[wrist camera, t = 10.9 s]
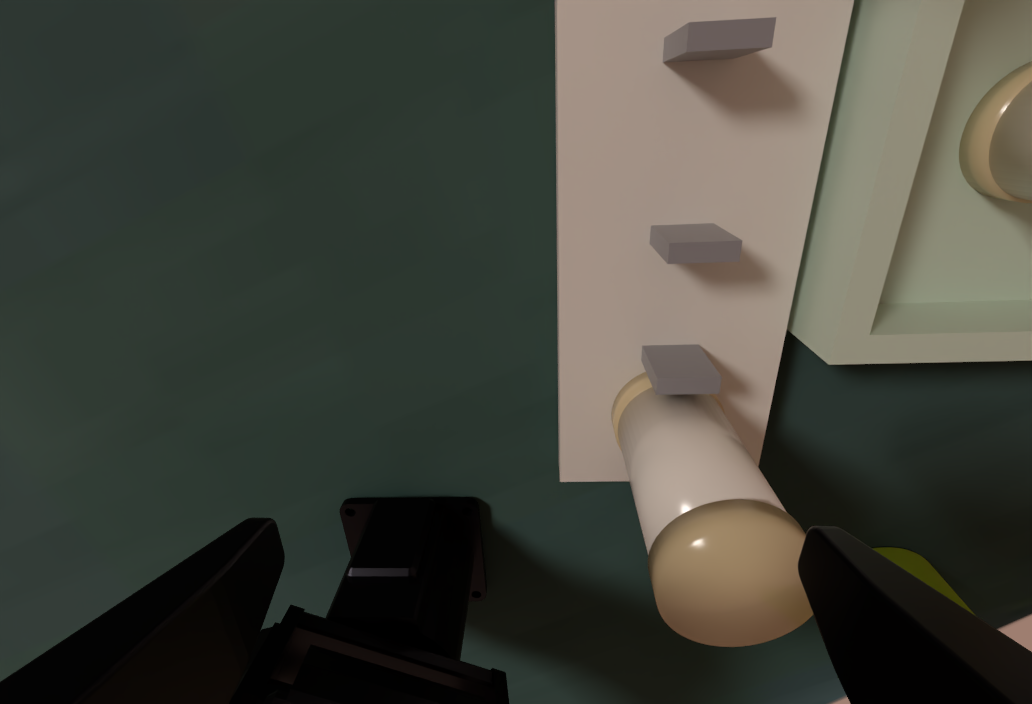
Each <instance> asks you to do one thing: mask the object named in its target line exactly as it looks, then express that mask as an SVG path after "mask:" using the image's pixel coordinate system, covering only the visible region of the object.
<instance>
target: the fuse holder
mask: <svg viewBox="0 0 1032 704" xmlns="http://www.w3.org/2000/svg"><path fill="white" fill-rule="evenodd" d="M853 3H854V0H555V77H556V197H557V317H558V437H559V472H560V482H595V481H629V477H628V474H627V470H626V466H625V462H624V458H623V454H622V451H621V450H620V448H619V446H618V444H617V441H616V437H615V433H614V429H613V425H612V420H611V412H612V407H613V403H614V401H615V398H616V396H617V395H618V393H619V391H620V390H621V389H622V388H623V387H624V386H625V385H626V384H627V383H628V382H629V381H630V380H632V379H633V378H634V377H636V376H638V375H640V374H642V373H644V372H646V373H647V375H648V378H649V380H650V382H651V385H652V387H653V389H654V392H655V394H656V395H677V394H715V395H716V396H717V398H718V399H719V401H720V402H721V404H722V406H723V409H724V412H725V416H726V417H727V419H728V420H729V422H730V424H731V425H732V427H733V428H734V430H735V431H736V433H737V435H738V436H739V438H740V439H741V441H742V442H743V444H744V446H745V447H746V449H747V450H748V452H749V453H750V455H751V457H752V458H753V460H754V461H755V463H756V465H757V466H759V461H760V456H761V451H762V446H763V441H764V437H765V432H766V427H767V422H768V417H769V412H770V407H771V403H772V398H773V393H774V388H775V383H776V378H777V373H778V368H779V364H780V359H781V354H782V349H783V344H784V339H785V334H786V330H787V325H788V320H789V315H790V310H791V305H792V300H793V295H794V291H795V286H796V281H797V276H798V271H799V266H800V261H801V257H802V252H803V247H804V242H805V237H806V232H807V227H808V222H809V218H810V213H811V208H812V203H813V198H814V193H815V188H816V184H817V179H818V174H819V169H820V164H821V159H822V154H823V149H824V145H825V140H826V135H827V130H828V125H829V120H830V115H831V110H832V106H833V101H834V96H835V91H836V86H837V81H838V76H839V72H840V67H841V62H842V57H843V52H844V47H845V42H846V37H847V33H848V28H849V23H850V18H851V13H852V8H853Z"/></svg>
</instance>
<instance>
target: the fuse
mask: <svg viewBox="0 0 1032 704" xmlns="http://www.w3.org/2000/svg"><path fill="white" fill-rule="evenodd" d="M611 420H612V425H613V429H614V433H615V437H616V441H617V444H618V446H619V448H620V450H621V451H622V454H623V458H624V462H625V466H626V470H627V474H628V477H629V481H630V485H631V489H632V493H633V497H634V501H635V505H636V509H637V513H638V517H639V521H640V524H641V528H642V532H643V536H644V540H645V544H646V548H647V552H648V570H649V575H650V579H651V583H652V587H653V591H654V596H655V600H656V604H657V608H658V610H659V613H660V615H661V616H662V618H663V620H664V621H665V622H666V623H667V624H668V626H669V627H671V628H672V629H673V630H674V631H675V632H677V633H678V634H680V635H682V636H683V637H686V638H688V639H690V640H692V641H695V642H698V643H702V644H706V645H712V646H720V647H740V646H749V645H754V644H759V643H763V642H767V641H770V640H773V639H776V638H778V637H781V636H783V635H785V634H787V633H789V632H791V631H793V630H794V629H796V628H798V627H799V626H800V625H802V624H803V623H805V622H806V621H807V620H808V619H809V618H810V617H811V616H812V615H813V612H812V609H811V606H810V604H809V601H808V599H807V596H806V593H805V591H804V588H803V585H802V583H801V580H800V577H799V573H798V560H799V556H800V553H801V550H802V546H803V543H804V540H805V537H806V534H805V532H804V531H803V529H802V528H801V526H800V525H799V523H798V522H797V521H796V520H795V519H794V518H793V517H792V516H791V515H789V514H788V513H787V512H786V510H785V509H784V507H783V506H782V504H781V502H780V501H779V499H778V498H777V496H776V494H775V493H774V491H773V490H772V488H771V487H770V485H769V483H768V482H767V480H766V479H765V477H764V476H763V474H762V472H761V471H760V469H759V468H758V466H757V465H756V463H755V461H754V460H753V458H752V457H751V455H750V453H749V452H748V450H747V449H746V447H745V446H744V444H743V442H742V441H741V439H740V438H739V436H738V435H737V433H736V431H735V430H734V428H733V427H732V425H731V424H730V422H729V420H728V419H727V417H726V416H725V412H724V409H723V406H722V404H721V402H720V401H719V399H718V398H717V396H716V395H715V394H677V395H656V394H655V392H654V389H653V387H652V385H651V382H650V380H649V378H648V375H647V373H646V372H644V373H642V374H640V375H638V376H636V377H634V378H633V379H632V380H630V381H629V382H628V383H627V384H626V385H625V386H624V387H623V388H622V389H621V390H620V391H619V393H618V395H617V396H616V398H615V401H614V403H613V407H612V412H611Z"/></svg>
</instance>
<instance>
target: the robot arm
mask: <svg viewBox="0 0 1032 704" xmlns="http://www.w3.org/2000/svg"><path fill="white" fill-rule="evenodd" d="M466 507H467V508H470V510H467V509H465V508H466ZM349 508H351V509H353V510H350V509H349ZM340 516H341V519H342V523H343V527H344V531H345V535H346V539H347V543H348V547H349V551H350V555H351V559H350V561H349V564H348V566H347V568H346V571H345V573H344V576H343V578H342V580H341V583H340V585H339V587H338V590H337V592H336V594H335V597H334V599H333V602H332V604H331V606H330V609H329V611H328V613H327V616H326V618H323V617H319V616H316V615H313V614H310V613H307V612H304V610H305V609H303V608H300V607H297V606H294V605H290V607H289V609H288V610H287V612H286V614H285V616H284V618H283V619H282V621H281V623H280V624H279V623H276V622H275V624H274V625H273V627H270V628H266V629H262V630H261V628H262V625H263V622H264V619H265V617H266V614H267V611H268V608H269V605H270V603H271V600H272V597H273V594H274V592H275V589H276V586H277V583H278V580H279V578H280V575H281V572H282V569H283V566H284V559H285V556H284V550H283V546H282V542H281V539H280V535H279V531H278V527H277V524H276V522H275V521H274V520H273V519H271V518H248V519H246V520H244V521H243V522H241V523H240V524H238V525H237V526H235V527H234V528H232V529H231V530H229V531H227V532H226V533H224V534H223V535H221V536H220V537H218V538H217V539H215V540H214V541H212V542H211V543H209V544H208V545H206V546H205V547H203V548H202V549H200V550H199V551H197V552H196V553H194V554H193V555H191V556H190V557H188V558H187V559H185V560H184V561H182V562H181V563H179V564H178V565H176V566H175V567H173V568H172V569H170V570H169V571H167V572H166V573H164V574H163V575H161V576H160V577H158V578H157V579H155V580H153V581H152V582H150V583H149V584H147V585H146V586H144V587H143V588H141V589H140V590H138V591H137V592H135V593H134V594H132V595H131V596H129V597H128V598H126V599H125V600H123V601H122V602H120V603H119V604H117V605H116V606H114V607H113V608H111V609H110V610H108V611H107V612H105V613H104V614H102V615H101V616H99V617H98V618H96V619H95V620H93V621H92V622H90V623H89V624H87V625H86V626H84V627H83V628H81V629H79V630H78V631H76V632H75V633H73V634H72V635H70V636H69V637H67V638H66V639H64V640H63V641H61V642H60V643H58V644H57V645H55V646H54V647H52V648H51V649H49V650H48V651H46V652H45V653H43V654H42V655H40V656H39V657H37V658H36V659H34V660H33V661H31V662H30V663H28V664H27V665H25V666H24V667H22V668H20V669H19V670H17V671H16V672H14V673H13V674H11V675H10V676H8V677H7V678H5V679H4V680H2V681H1V682H0V704H509V698H508V689H507V680H506V673H505V672H503V671H500V670H497V669H494V668H492V669H491V670H488V669H485V668H482V667H479V666H475V665H472V664H469V663H466V662H463V661H460V658H461V651H462V644H463V637H464V630H465V623H466V616H467V608H468V601H482V600H484V599H485V597H486V592H487V584H486V573H485V563H484V553H483V543H482V533H481V522H480V512H479V505H478V502H477V501H476V500H475V499H473V498H469V497H441V498H349V499H346V500H345V501H344V502H343V504H342V506H341V508H340ZM798 573H799V577H800V580H801V583H802V585H803V588H804V591H805V593H806V596H807V599H808V601H809V604H810V606H811V609H812V612H813V614H814V617H815V620H816V622H817V625H818V628H819V630H820V633H821V636H822V638H823V641H824V643H825V646H826V649H827V651H828V654H829V657H830V659H831V662H832V664H833V666H834V669H835V671H836V674H837V676H838V678H839V680H840V682H841V684H842V687H843V689H844V691H845V693H846V695H847V697H848V699H849V701H850V703H851V704H1032V652H1031V651H1029V650H1028V649H1026V648H1024V647H1023V646H1022V645H1020V644H1018V643H1017V642H1015V641H1014V640H1012V639H1011V638H1009V637H1008V636H1006V635H1005V634H1003V633H1001V632H1000V631H998V630H997V629H995V628H994V627H992V626H991V625H989V624H988V623H986V622H985V621H983V620H981V619H980V618H978V617H977V616H975V615H974V614H972V613H971V612H969V611H968V610H966V609H964V608H963V607H961V606H960V605H958V604H957V603H955V602H954V601H952V600H951V599H949V598H948V597H946V596H944V595H943V594H941V593H940V592H938V591H937V590H935V589H934V588H932V587H931V586H929V585H927V584H926V583H924V582H923V581H921V580H920V579H918V578H917V577H915V576H914V575H912V574H911V573H909V572H907V571H906V570H904V569H903V568H901V567H900V566H898V565H897V564H895V563H894V562H892V561H890V560H889V559H887V558H886V557H884V556H883V555H881V554H880V553H878V552H877V551H875V550H874V549H872V548H870V547H869V546H867V545H866V544H864V543H863V542H861V541H860V540H858V539H857V538H855V537H853V536H852V535H850V534H849V533H847V532H846V531H844V530H843V529H841V528H839V527H836V526H812V527H810V528H809V529H808V531H807V533H806V537H805V540H804V543H803V546H802V550H801V553H800V556H799V560H798Z"/></svg>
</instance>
